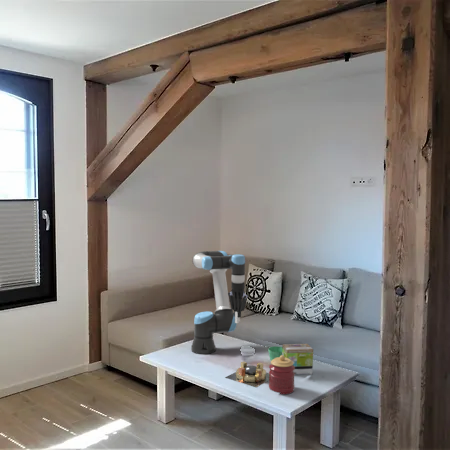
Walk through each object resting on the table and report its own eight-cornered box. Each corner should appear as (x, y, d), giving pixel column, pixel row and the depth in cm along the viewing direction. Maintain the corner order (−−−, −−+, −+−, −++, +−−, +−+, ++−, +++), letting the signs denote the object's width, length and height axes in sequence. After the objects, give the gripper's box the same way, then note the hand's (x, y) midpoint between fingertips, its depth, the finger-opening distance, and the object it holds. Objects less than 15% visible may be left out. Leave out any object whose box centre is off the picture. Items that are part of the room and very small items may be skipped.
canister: (296, 394, 240) (297, 360, 239) (271, 395, 239) (271, 360, 238) (291, 383, 253) (292, 350, 252) (266, 384, 252) (267, 351, 251)
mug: (278, 370, 271) (278, 353, 270) (264, 366, 277) (264, 349, 277) (293, 364, 281) (294, 347, 280) (280, 359, 288) (280, 343, 287)
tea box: (286, 376, 263) (286, 349, 262) (281, 369, 273) (281, 343, 271) (312, 375, 265) (313, 348, 264) (306, 368, 275) (307, 342, 274)
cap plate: (224, 379, 258) (224, 368, 257) (246, 368, 274) (246, 357, 273) (256, 389, 246) (256, 377, 245) (276, 377, 262) (277, 366, 261)
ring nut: (248, 384, 249) (249, 374, 248) (230, 374, 261) (230, 364, 261) (271, 377, 258) (271, 367, 258) (253, 368, 270) (253, 358, 270)
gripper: (251, 282, 275) (250, 323, 277) (232, 279, 283) (232, 319, 285) (243, 284, 269) (243, 326, 271) (224, 281, 277) (224, 321, 279)
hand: (237, 322), depth 278 cm, fingers closed
